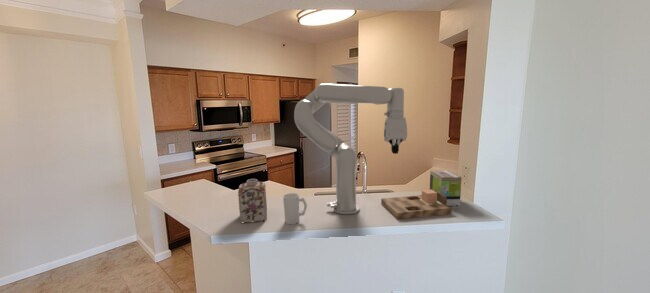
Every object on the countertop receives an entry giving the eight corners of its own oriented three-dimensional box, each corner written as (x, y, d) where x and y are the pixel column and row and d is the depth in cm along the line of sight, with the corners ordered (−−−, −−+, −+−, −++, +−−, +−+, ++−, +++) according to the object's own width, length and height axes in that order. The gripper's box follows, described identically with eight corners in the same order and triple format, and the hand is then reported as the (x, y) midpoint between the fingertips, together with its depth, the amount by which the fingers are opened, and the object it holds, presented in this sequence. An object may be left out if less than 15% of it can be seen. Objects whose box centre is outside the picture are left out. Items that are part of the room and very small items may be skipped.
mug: (283, 225, 112) (282, 198, 111) (285, 218, 119) (284, 193, 117) (306, 224, 112) (305, 197, 111) (307, 218, 119) (306, 192, 117)
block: (427, 203, 124) (427, 193, 123) (421, 200, 129) (421, 190, 128) (436, 202, 124) (437, 192, 124) (431, 199, 129) (431, 189, 129)
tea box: (460, 206, 127) (462, 176, 125) (440, 206, 128) (441, 177, 126) (447, 196, 142) (448, 169, 140) (428, 196, 143) (429, 170, 140)
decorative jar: (267, 211, 128) (265, 175, 126) (267, 220, 117) (264, 182, 115) (242, 214, 126) (239, 178, 123) (239, 224, 115) (236, 184, 112)
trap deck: (397, 219, 114) (397, 204, 113) (381, 204, 133) (381, 191, 132) (451, 214, 118) (451, 199, 117) (428, 200, 137) (428, 187, 136)
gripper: (383, 115, 118) (383, 155, 120) (414, 114, 120) (413, 153, 122) (377, 115, 125) (377, 152, 128) (406, 114, 127) (406, 151, 130)
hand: (395, 153), depth 125 cm, fingers closed
